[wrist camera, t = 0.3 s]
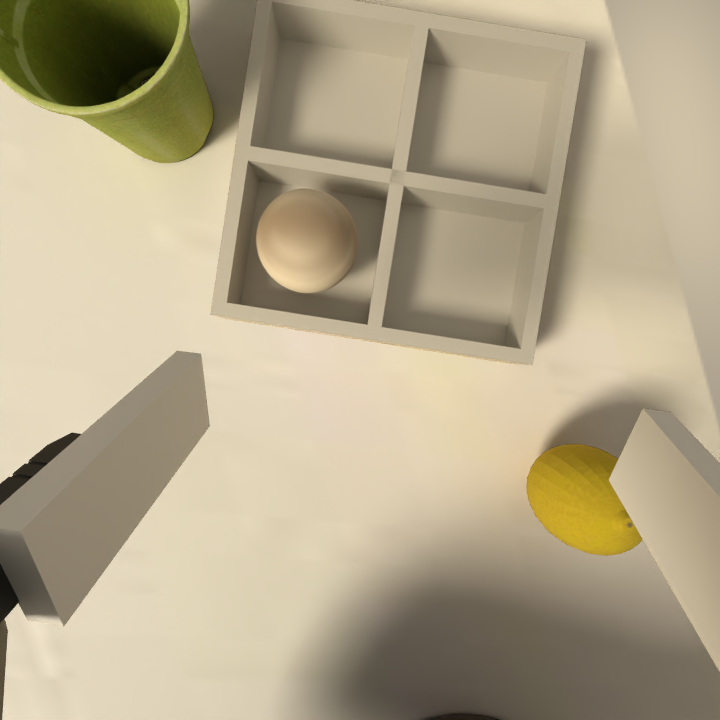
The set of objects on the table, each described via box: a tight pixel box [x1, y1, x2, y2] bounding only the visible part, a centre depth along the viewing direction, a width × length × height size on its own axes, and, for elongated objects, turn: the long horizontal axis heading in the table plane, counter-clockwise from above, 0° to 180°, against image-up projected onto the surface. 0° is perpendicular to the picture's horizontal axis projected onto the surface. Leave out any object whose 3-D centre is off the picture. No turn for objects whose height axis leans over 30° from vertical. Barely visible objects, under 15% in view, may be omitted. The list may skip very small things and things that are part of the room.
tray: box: [210, 0, 586, 365], centre depth 25 cm, size 18×18×4 cm
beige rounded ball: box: [256, 188, 358, 293], centre depth 23 cm, size 6×6×6 cm
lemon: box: [527, 444, 642, 556], centre depth 23 cm, size 6×6×8 cm
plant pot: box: [0, 0, 213, 163], centre depth 22 cm, size 9×9×9 cm
